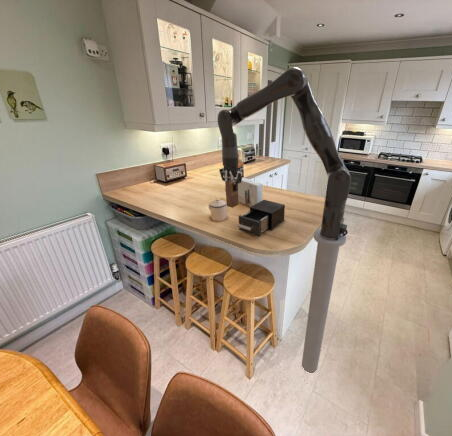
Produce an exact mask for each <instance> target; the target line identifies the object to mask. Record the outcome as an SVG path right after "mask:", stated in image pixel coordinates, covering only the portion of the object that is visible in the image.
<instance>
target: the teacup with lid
mask: <svg viewBox="0 0 452 436" xmlns="http://www.w3.org/2000/svg"><path fill="white" fill-rule="evenodd" d="M208 209H209V211H210V217H211V220H213V221H214V222H221V221H224V220H226V219H227V217H228V216H227V215H228V214H227V203H226V201H225V200H221V199H220V198H219V197H218V198H215V200H212V201H211V202H210V203H209V204H208Z"/></svg>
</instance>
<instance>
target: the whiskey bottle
mask: <svg viewBox="0 0 452 436" xmlns="http://www.w3.org/2000/svg"><path fill="white" fill-rule="evenodd" d="M237 149H238V145H237ZM238 150H239V149H238ZM239 158H240V157H239V154H238V170H239V171H240V172H243V178H245V176H244V175H245V174H244V173H245V172H244V165H245V162H244V161H242V160H240V159H239ZM237 175H238V174H237ZM234 178H235V177H234ZM230 180H232V179H231V178H230Z"/></svg>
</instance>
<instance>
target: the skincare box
mask: <svg viewBox="0 0 452 436" xmlns="http://www.w3.org/2000/svg"><path fill="white" fill-rule="evenodd" d="M263 198H264V197H263V183H262V182H259V181H256V180H252V179H249V178H246V177H244V178H243V177H242V181H241V183H239V184H238V201H239V203H241V204H244V205H246V206H248V207H249V208H250V207H252V206H253V205H255V204H257V203H259V202H260V201H262V200H264V199H263Z"/></svg>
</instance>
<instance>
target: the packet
mask: <svg viewBox="0 0 452 436" xmlns="http://www.w3.org/2000/svg"><path fill="white" fill-rule="evenodd" d="M235 182H236V181H235ZM224 184H225V185H224V186H225V200H226V201H225V202H226V207H229V208H232V209H233V208H235V207H237V206H240V205H239V204H240V202H239V201H238V190H237V191H234V190H233V180H229V181H226V182H225V181H224Z"/></svg>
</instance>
